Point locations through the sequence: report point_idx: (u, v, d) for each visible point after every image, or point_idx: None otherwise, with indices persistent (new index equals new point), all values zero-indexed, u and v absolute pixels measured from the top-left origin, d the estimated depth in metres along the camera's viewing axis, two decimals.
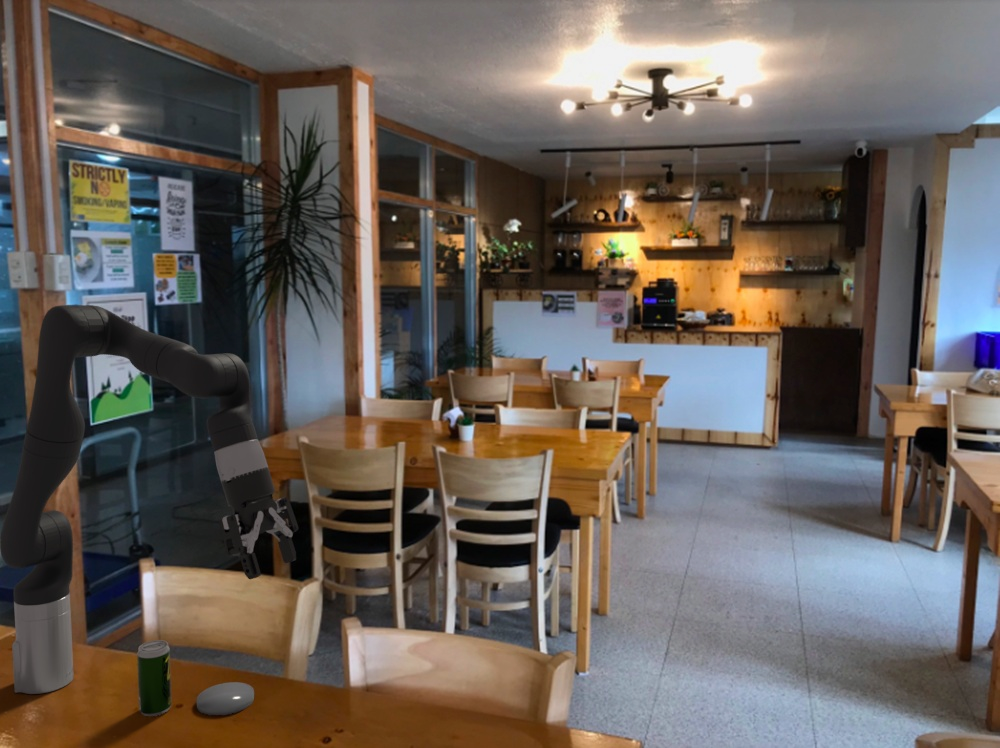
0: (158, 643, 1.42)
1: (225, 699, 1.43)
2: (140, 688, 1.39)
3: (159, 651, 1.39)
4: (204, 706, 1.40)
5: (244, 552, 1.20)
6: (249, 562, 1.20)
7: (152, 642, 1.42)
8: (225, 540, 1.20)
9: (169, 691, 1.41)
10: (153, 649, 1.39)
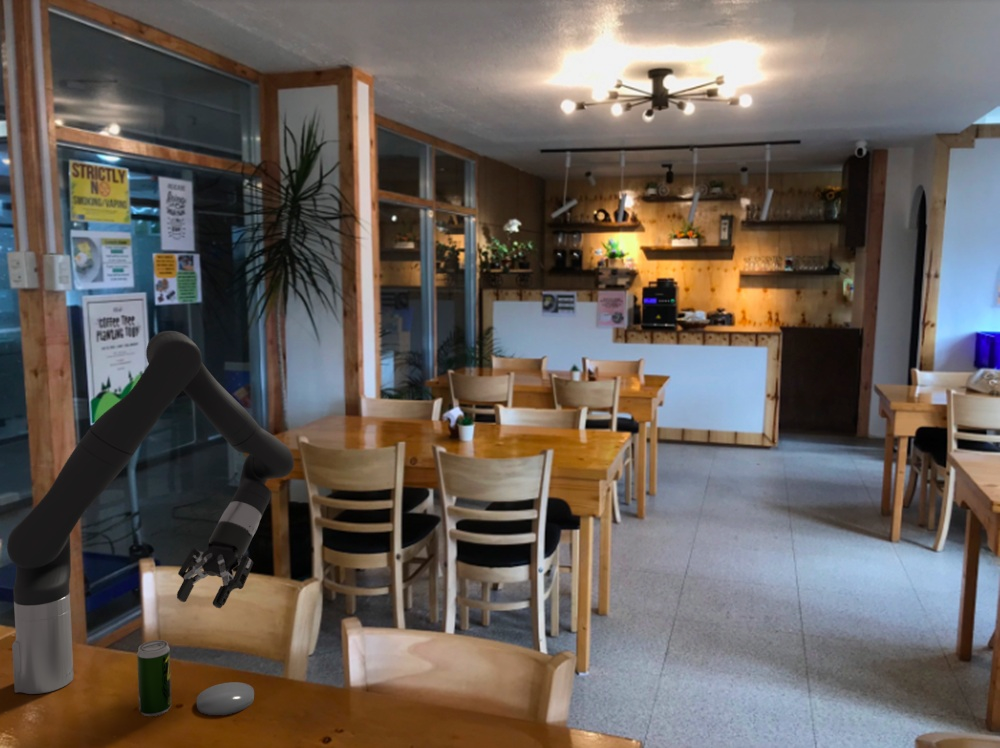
0: (158, 643, 1.42)
1: (225, 699, 1.43)
2: (140, 688, 1.39)
3: (159, 651, 1.39)
4: (204, 706, 1.40)
5: None
6: (227, 596, 1.51)
7: (152, 642, 1.42)
8: (242, 572, 1.52)
9: (169, 691, 1.41)
10: (153, 649, 1.39)
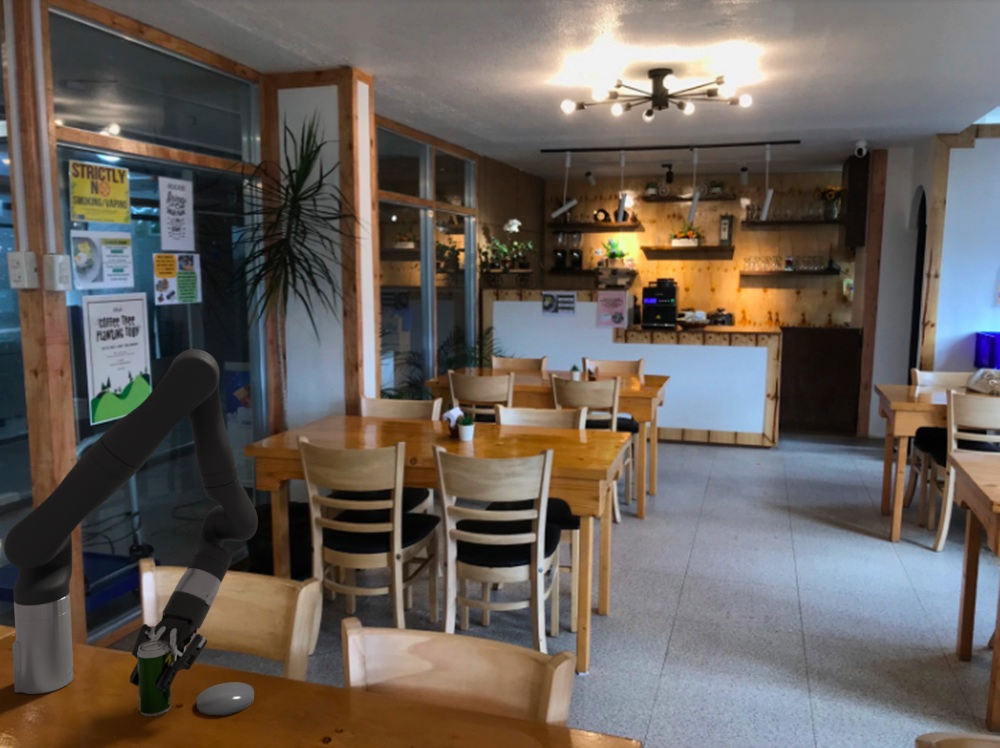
0: (158, 643, 1.42)
1: (225, 699, 1.43)
2: (140, 688, 1.39)
3: (159, 651, 1.39)
4: (204, 706, 1.40)
5: None
6: (173, 677, 1.40)
7: (152, 642, 1.42)
8: (190, 653, 1.41)
9: (169, 691, 1.41)
10: (153, 649, 1.39)
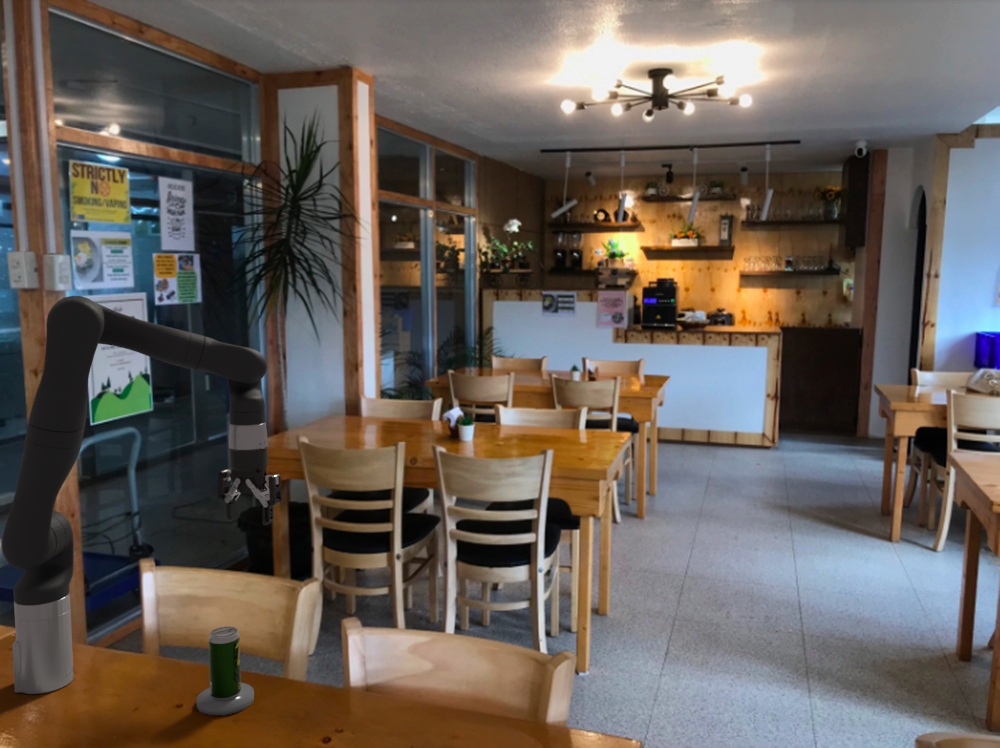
0: (228, 629, 1.45)
1: None
2: (212, 673, 1.42)
3: (230, 637, 1.42)
4: (204, 706, 1.40)
5: None
6: (272, 511, 1.61)
7: (222, 628, 1.45)
8: (275, 492, 1.58)
9: (239, 676, 1.44)
10: (224, 635, 1.42)
